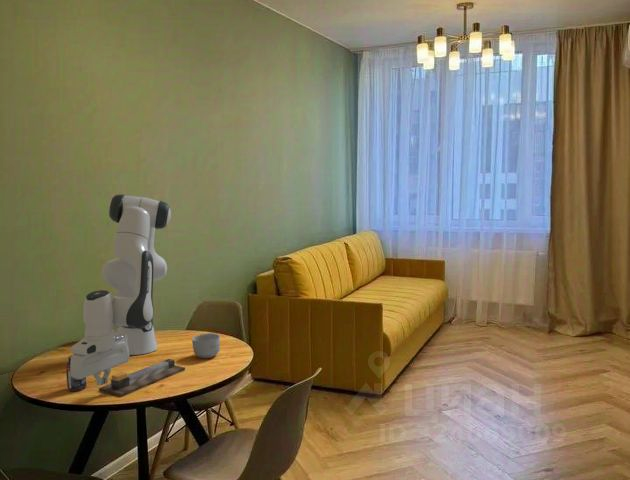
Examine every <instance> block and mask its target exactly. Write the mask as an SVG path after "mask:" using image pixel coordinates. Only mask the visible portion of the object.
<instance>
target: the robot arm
mask: <svg viewBox="0 0 630 480" xmlns="http://www.w3.org/2000/svg"><path fill="white" fill-rule="evenodd" d="M107 208H108V216H109V218H110V219H111V220H112V221H113V222H114V223H118V225H117V227H116V230H115V235H114V239H113V252H114V254H115V256H117V257H118V258H114V259H111V260H107V261H105V263H104V264H103V266H102V270H101V276H102V278H103V280H104V281H105V283H106V284H107V285H109V286H111V287H112V288H113V289H115V291H116V292H117V293H118V295H119V296H116V295H113V294H111V293H110V291H108V290H104V289H99V290H96V291H95V290H94V291H91V292H89V293H87V294H86V295H85V297H84V301H83V322H84V325H85V330H84V337H83V338H82V339H80V340H79V341H78V342H76V343H75V344H73V345H72V346H71V347H70V352H71V353H72V357H71V362H70V371H71V376H72V377H73V378H75V379H83V378H86V379H87V378H88V377H91V376H93V377H94V379H95V380H96V382H95V383H96V385H97V386H102V385H106V384H107V383H108V384H109V377H110V375H111V372H112V369H113V368H115V367H119V366H121V365H124V364H126V363H129V360H130V356H137V355H145V354H150V353H152V352H155V351H156V350H158V341H156V334H155V328H154V326H153V325H154V313H155V312H154V310H155V309H154V302H153V298H154V297H153V292H154V282H156V281H160V280H162V279H164V278H165V277H166V275H167V271H168V265H167V262H166V260H165V259H164V258H163V257H162V256H160V255H159V254H158V253H157V252H156V249H155V234H156V233H155V232H156V230H161V229H164V228H166V227H167V226H168V224H169V222H170V221H171V217H172V211H171V207H170V205H169V204H168V203H167V202H165V201H163V200H156V199H153V198H149V197H144V196H135V195H125V194H115V195H114V196H112V198H111V200H110V202H109V204H108V207H107ZM114 326H115V327H116V326H117V327H118V328H117V329H116V330H115V329H114ZM102 372H103V375H102ZM101 375H102V377H101Z"/></svg>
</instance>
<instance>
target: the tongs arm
mask: <svg viewBox="0 0 630 480" xmlns="http://www.w3.org/2000/svg"><path fill="white" fill-rule="evenodd" d="M174 363H176V362H175V359H170V358H168V359H164V360H162V361H159V362H157V363H155V364H152V365H150V366H147V367H144V368H141V369H138V370H136V371H134V372H132V373H129V374H128V373H127V377H129V381H131V380H134V379H136V378H139V377H141V376H144V375H146V374H149V373H151V372H154V371H156V370H159V369H161V368H164V367H166V366H169V365H171V364H174Z"/></svg>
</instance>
